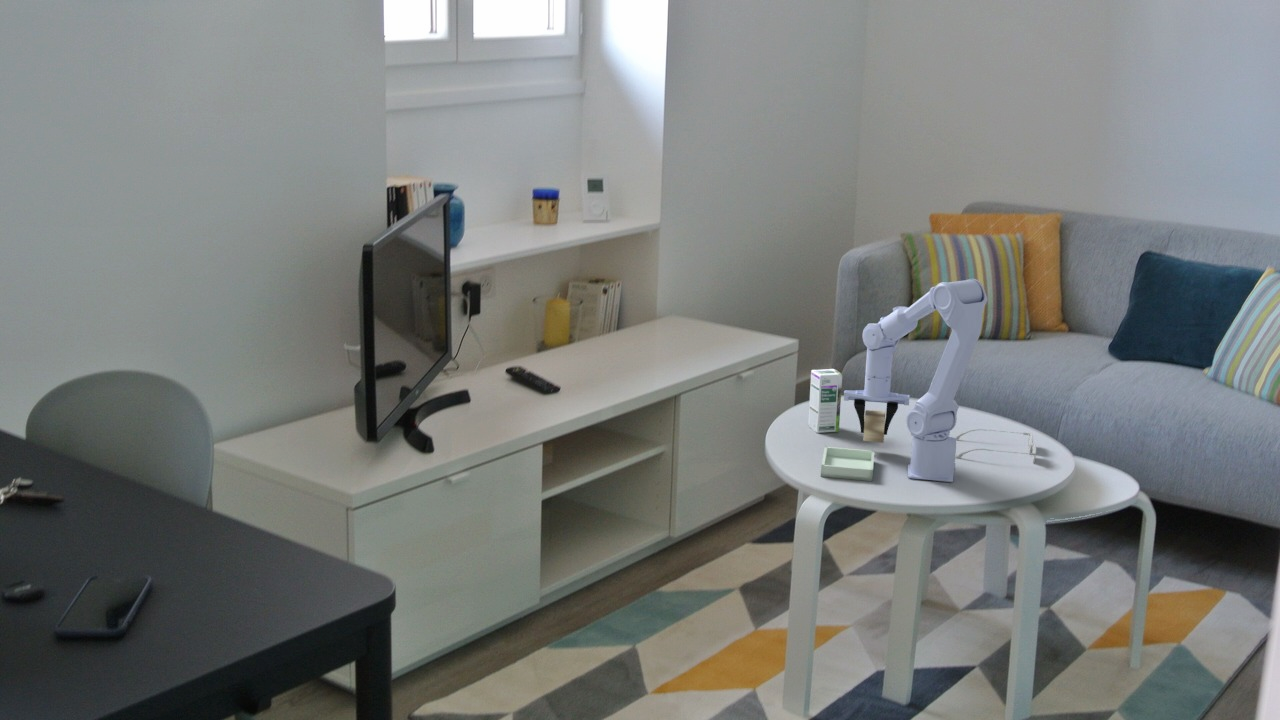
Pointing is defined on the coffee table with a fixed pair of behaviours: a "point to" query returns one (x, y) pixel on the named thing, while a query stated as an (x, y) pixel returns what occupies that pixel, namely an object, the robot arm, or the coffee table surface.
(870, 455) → the serving tray
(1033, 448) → the eyeglasses
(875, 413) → the maple block
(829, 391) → the syrup box
